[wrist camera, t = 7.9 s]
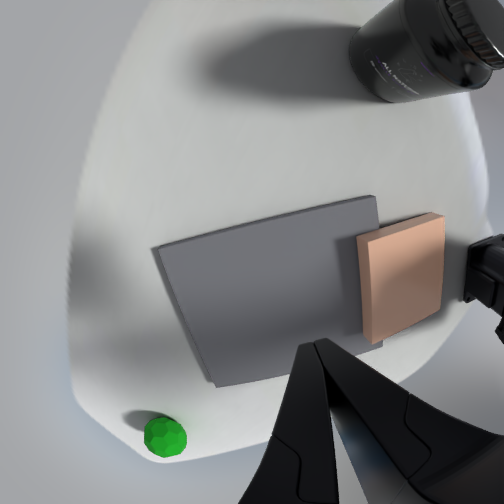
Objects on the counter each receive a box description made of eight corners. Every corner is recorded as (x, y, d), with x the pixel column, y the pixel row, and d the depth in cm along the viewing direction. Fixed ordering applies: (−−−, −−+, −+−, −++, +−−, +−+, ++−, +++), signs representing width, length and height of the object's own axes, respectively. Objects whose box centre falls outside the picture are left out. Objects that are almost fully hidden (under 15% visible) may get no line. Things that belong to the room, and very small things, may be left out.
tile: (356, 236, 19) (431, 212, 20) (363, 334, 22) (429, 302, 23) (367, 242, 17) (444, 216, 18) (372, 344, 20) (439, 309, 21)
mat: (370, 195, 19) (375, 196, 18) (379, 341, 24) (382, 346, 23) (160, 246, 20) (157, 249, 19) (216, 381, 24) (216, 387, 24)
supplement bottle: (352, 100, 17) (467, 57, 5) (340, 22, 15) (418, -61, 3) (425, 110, 17) (543, 101, 6) (413, 38, 15) (509, -5, 3)
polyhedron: (166, 405, 26) (158, 439, 21) (197, 426, 27) (194, 459, 23) (140, 416, 26) (130, 447, 22) (169, 436, 28) (163, 466, 23)
